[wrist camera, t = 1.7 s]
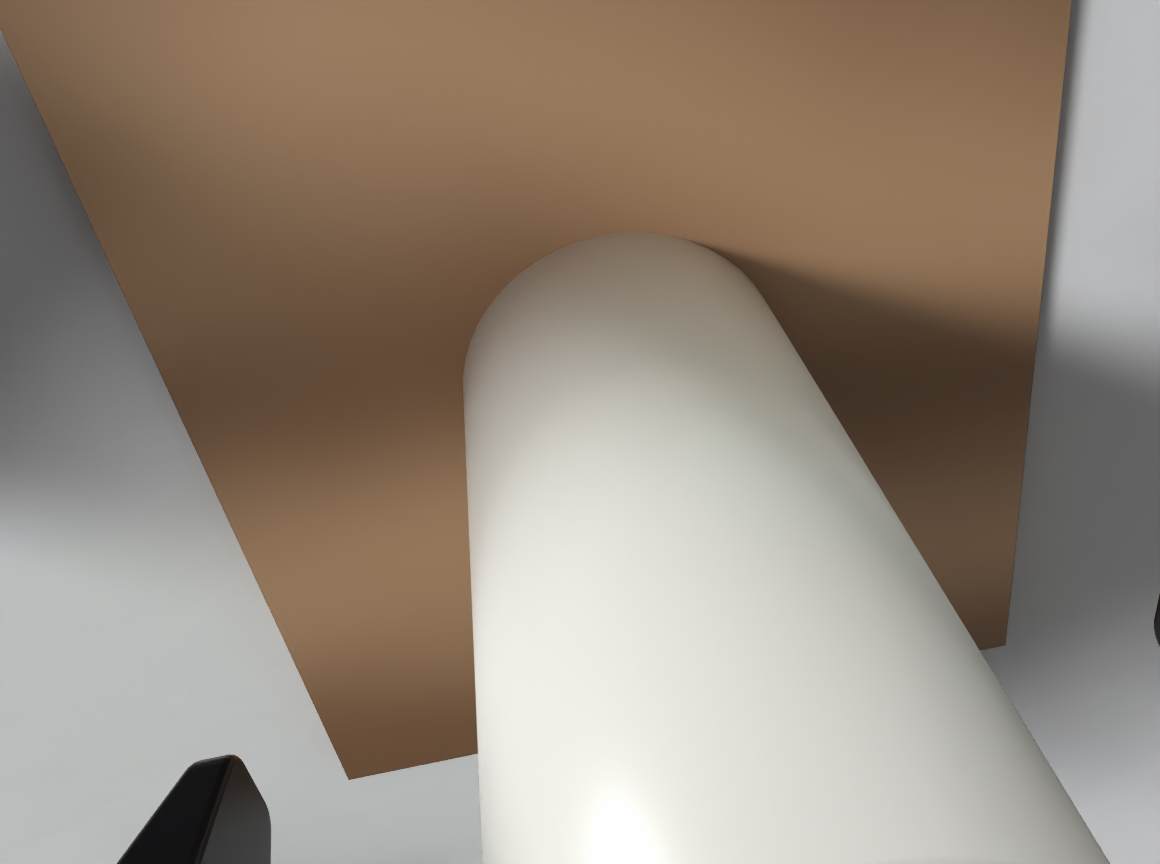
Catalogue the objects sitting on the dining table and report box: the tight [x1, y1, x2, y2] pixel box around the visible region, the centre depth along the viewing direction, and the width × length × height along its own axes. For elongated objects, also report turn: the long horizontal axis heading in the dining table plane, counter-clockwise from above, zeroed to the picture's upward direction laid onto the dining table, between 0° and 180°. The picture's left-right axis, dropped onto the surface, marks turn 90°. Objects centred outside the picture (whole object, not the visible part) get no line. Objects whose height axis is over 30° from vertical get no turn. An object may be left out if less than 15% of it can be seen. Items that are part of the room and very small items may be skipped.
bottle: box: [463, 233, 1110, 864], centre depth 10 cm, size 4×4×11 cm
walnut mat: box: [0, 0, 1072, 780], centre depth 14 cm, size 14×12×1 cm
